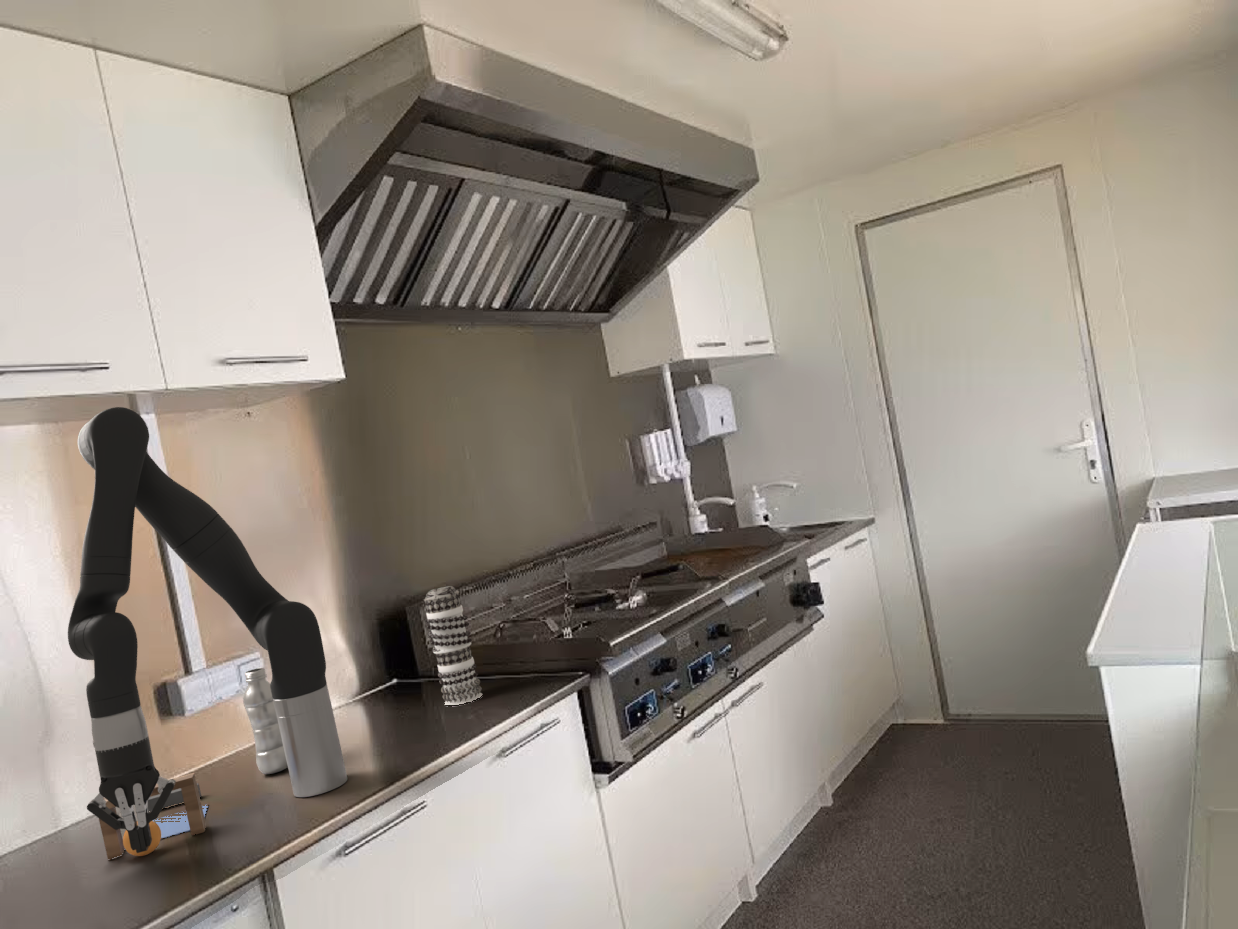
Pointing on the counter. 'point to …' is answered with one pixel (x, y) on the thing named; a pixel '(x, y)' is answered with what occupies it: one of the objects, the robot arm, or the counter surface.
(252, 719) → the plastic bottle
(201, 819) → the bridge
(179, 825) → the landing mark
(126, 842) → the ball
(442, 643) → the decorative candle
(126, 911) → the counter surface
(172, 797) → the strip
